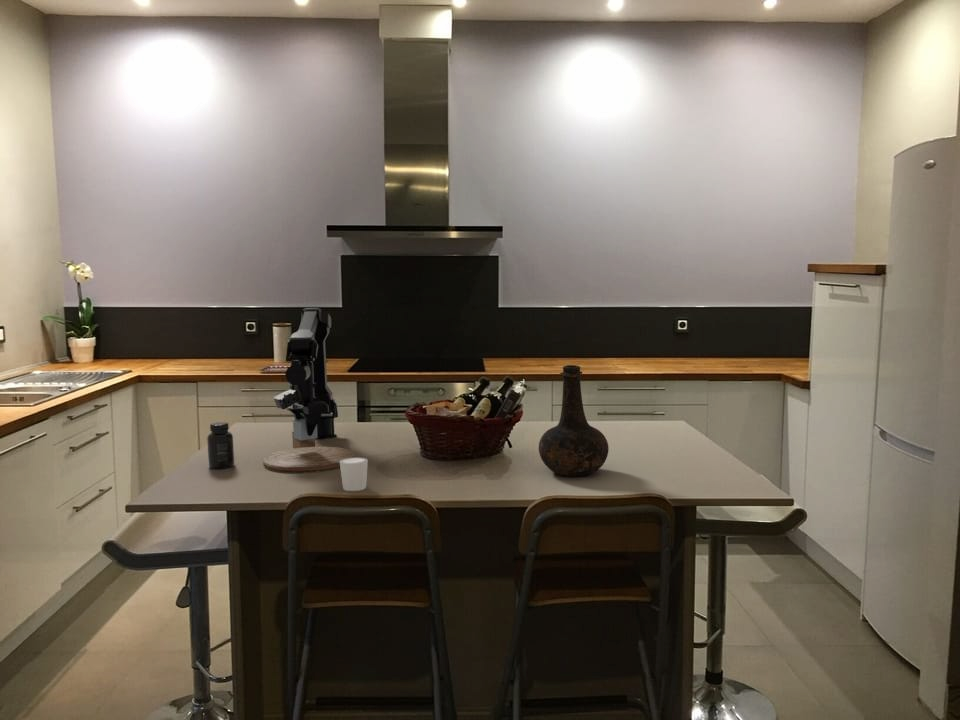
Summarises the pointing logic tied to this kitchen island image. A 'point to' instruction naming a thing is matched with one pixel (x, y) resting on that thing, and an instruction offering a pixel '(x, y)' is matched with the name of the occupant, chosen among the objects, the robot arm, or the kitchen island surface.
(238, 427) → the kitchen island surface
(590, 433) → the glass bottle
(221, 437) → the supplement bottle
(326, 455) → the trivet
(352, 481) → the white cup
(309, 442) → the walnut block
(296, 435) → the slate block
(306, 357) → the robot arm
